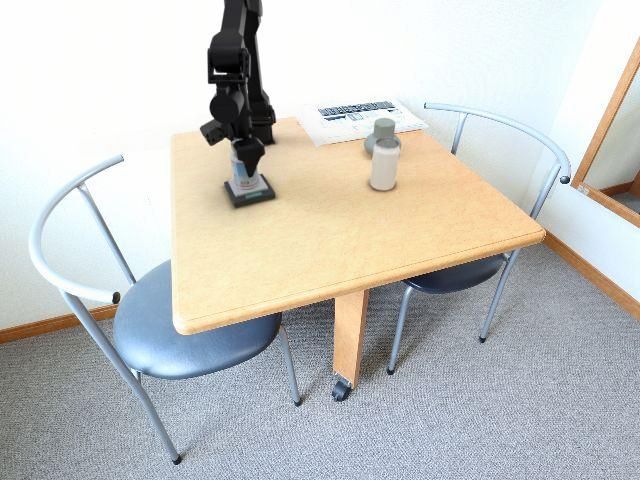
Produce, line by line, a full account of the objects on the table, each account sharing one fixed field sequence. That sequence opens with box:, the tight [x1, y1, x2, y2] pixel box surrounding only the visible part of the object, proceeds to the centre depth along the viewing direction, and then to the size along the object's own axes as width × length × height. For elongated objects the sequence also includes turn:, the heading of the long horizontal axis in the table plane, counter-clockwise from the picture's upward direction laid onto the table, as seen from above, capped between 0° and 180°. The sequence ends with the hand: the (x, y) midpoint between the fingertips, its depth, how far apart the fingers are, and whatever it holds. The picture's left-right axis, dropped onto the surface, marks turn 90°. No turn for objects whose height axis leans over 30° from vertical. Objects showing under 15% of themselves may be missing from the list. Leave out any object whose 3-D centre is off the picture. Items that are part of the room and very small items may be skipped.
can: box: [369, 138, 401, 192], centre depth 93 cm, size 6×6×12 cm
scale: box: [223, 173, 276, 209], centre depth 94 cm, size 10×10×2 cm
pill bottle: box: [229, 139, 259, 189], centre depth 90 cm, size 6×6×11 cm
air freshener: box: [363, 117, 402, 157], centre depth 107 cm, size 11×8×10 cm
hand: (245, 168), depth 91 cm, fingers open, 9 cm apart
